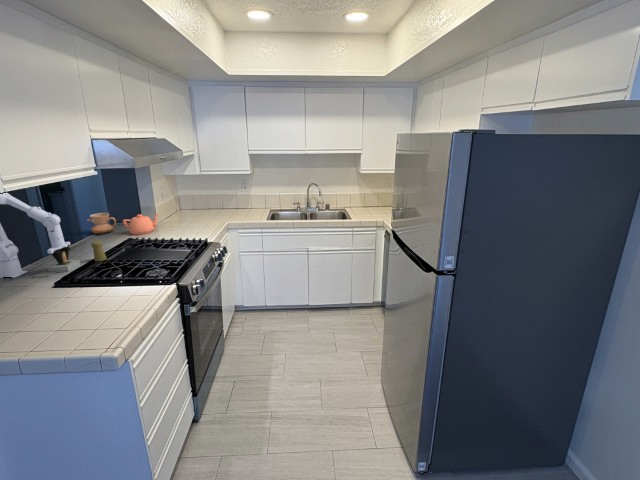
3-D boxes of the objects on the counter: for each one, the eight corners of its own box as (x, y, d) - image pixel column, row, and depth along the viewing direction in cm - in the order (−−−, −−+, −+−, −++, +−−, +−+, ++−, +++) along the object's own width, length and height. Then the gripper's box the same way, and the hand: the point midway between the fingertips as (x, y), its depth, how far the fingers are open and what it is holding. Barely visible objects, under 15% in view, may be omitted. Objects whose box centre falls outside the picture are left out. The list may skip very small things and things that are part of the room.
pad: (32, 277, 169) (32, 276, 169) (44, 271, 177) (43, 270, 177) (48, 276, 170) (48, 276, 170) (59, 270, 177) (59, 270, 177)
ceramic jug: (87, 236, 241) (83, 217, 237) (93, 231, 254) (88, 213, 250) (115, 234, 247) (112, 215, 243) (119, 229, 260) (116, 211, 256)
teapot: (163, 227, 260) (160, 210, 256) (161, 232, 244) (157, 215, 240) (127, 231, 252) (124, 214, 248) (122, 237, 237) (118, 218, 233)
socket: (49, 272, 175) (47, 267, 174) (62, 265, 185) (60, 260, 184) (68, 271, 176) (67, 266, 175) (80, 264, 185) (79, 259, 184)
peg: (58, 267, 178) (54, 253, 176) (63, 265, 181) (59, 251, 179) (66, 267, 178) (62, 253, 176) (70, 265, 182) (66, 251, 179)
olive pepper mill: (104, 257, 196) (100, 239, 193) (108, 259, 193) (104, 241, 189) (92, 260, 192) (88, 241, 189) (96, 262, 188) (92, 243, 185)
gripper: (54, 241, 168) (61, 266, 172) (73, 233, 182) (79, 256, 186) (40, 242, 168) (47, 267, 172) (60, 234, 182) (66, 257, 186)
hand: (63, 262), depth 179 cm, fingers closed on peg, 3 cm apart
